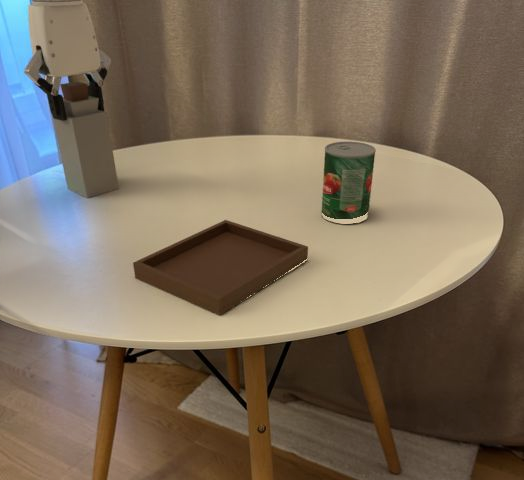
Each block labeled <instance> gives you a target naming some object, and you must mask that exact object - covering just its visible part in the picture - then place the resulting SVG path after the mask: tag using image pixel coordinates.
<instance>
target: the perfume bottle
mask: <svg viewBox="0 0 524 480" xmlns="http://www.w3.org/2000/svg"><path fill="white" fill-rule="evenodd" d="M87 86H88V83H84V82H80V81H72V82H66V83H60V89H61V92H62V96H63V101H64V106H65V111H66V116H67V119H66V120H65V121H61V120H57V119H54V118H53V115H52V114H51V118H52V122H53V127H54V132H55V136H56V140H57V145H58V150H59V155H60V160H61V163H62V168H63V174H64V178H65V182H66V187H67V190H69V191H70V192H73V193H75V194H78V195H79V196H82V197H84V198H86V199H89V198H93V197H96V196H99V195H102V194H106V193H109V192H112V191H117V190H119V189H120V186H119V182H118V176H117V169H116V161H115V156H114V150H113V143H112V138H111V132H110V125H109V120H108V119H109V118H108V113H107V111H105V110H104V111H100V110H98V101H99V98H96V97H92V96H88V87H87Z"/></svg>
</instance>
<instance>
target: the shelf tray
mask: <svg viewBox="0 0 524 480" xmlns="http://www.w3.org/2000/svg"><path fill="white" fill-rule="evenodd" d="M307 258H309V246H307V245H305V244H301V243H299V242H295V241H292V240H289V239H286V238H283V237H280V236H277V235H274V234H270V233H269V232H268V233H267V232H265V231H261V230H259V229H256V228H253V227H249V226H246V225H242V224H239V223H237V222H234V221H231V220H228V219H223V220H222V221H220V222H218V223H216V224H213V225H211V226H209V227H207V228H205V229H202V230H201V231H200V230H199V231H198V232H196V233H194V234H192V235H190V236H188V237H185V238H183V239H181V240H179V241H176V242H174V243H172V244H170V245H168V246H166V247H164V248H162V249H159V250H157V251H155V252H153V253H150V254H149V255H146V256H145V257H142V258H139V259H137V260H136V261H134V262H133V261H132V267H133V272H134V278H135V279H137V280H139V281H141V282H144V283H146V284H148V285H150V286H153V287H155V288H157V289H159V290H162V291H164V292H166V293H169V294H170V295H173V296H175V297H178V298H179V299H182V300H183V301H186V302H187V303H191V304H193V305H195V306H197V307H199V308H202V309H204V310H206V311H208V312H211V313H212V314H215V313H216V314H215V315H217V314H218V315H217V316H221V314H222V315H223V314H225V313H227V312H228V311H230V310H232V309H233V308H234V307H233V306H235V305H236V306H238V305H239V304H238V303H240V302H241V301H243V300H244V299H246V298H247V297H249V296H250V295H252V296H254V295H255V294H254V293H256V292H257V291H259V290H260V289H262V288H263V287H265V286H266V285H268V284H270V283H271V282H273V281H274V280H276V279H277V278H279V277H280V276H282V275H284V274H285V273H286V272H288V271H289V270H291V269H292V268H294V267H295V266H297V265H299V264H300V263H302V262H303V261H304V260H306V259H307ZM284 276H285V275H284ZM276 281H277V280H276ZM273 283H274V282H273ZM270 285H271V284H270ZM268 286H269V285H268ZM265 288H266V287H265ZM262 290H263V289H262ZM260 291H261V290H260ZM260 291H259V292H260ZM257 293H258V292H257ZM257 293H256V294H257ZM253 294H254V295H253ZM249 298H250V297H249ZM246 300H247V299H246ZM244 301H245V300H244ZM244 301H243V302H244ZM241 303H242V302H241ZM241 303H240V304H241ZM237 304H238V305H237ZM236 306H235V307H236ZM232 307H233V308H232ZM229 309H230V310H229ZM227 310H228V311H227ZM226 311H227V312H226Z"/></svg>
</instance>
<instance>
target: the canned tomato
mask: <svg viewBox="0 0 524 480" xmlns="http://www.w3.org/2000/svg"><path fill="white" fill-rule="evenodd" d="M376 151H377V150H376V148H375V147H374V146H373V145H372V144H368V143H366V142H359V141H336V142H331V143H329V144H327V145H325V146H324V162H323V163H324V164H323V179H322V180H323V181H322V197H321V212H322V213H323V214H324V215H325V216H327V217H330V218H334V219H353V218H357V217H360V216H363V215H365V214H366V213H367V212H368V211H369V212H370V202H371V193H372V184H373V174H374V167H375V158H376V157H375V156H376ZM369 212H368V213H369Z"/></svg>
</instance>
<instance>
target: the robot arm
mask: <svg viewBox="0 0 524 480" xmlns="http://www.w3.org/2000/svg"><path fill="white" fill-rule="evenodd" d="M31 1H32V4H28V5H27V18H28V19H27V20H28V21H27V22H28V32H29V39H30V48H31V52H32V57H31V59H30V60H29V62H28V63H27V65H26V66H25V68H24V69H23V71H24V74H25V76H27V77H28V78H29V79H30V81H32V82H33V83H34V85H35V86H37V88H39V89H40V90H41V91H42V92H43V94H45V95H46V97H47V101H48V106H49V111H50V114H51V116H52V115H53V118H54V119H57V120H61V121H65V120H66V119H67V116H66V111H65V106H64V101H63V97H64V96H63V94H59V92H60V89H61V86H60V84H62V83H61V82H62V78H64V77H70V76H71V77H72V76H77V75H83V76H84V78H85V79H86V81H87V82H88V83H87V87H88V96H92V97H96V98H99V101H98V110H100V111H104V112H105V102H104V96H103V95H104V94H103V90H102V89H103V88H102V87H104V85H105V82H104V81H105V79H106V77H107V75H108V70H109V69H110V66H111V63H112V58H111V56H109V55H108V54H107V53H106V52H104V51H103V49H101V48H99V45H98V40H97V35H96V32H95V31H96V30H95V27H94V23H93V20H92V15H91V13H90V10H89V8H88V5H87V3H86V2H84V0H31ZM41 75H43V76H44V77H42V76H41ZM53 118H52V119H53Z"/></svg>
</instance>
